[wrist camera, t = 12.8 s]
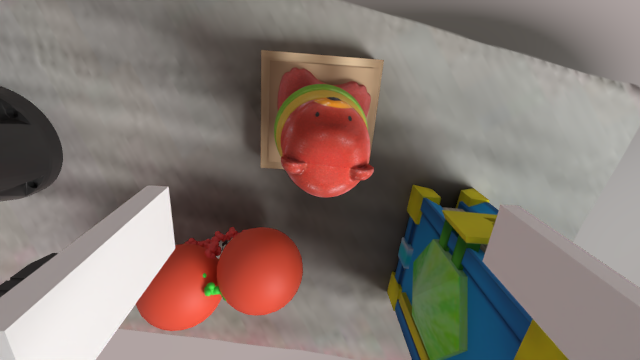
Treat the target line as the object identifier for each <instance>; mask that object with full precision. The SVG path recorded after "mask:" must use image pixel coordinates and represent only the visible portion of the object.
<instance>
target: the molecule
mask: <svg viewBox="0 0 640 360" xmlns="http://www.w3.org/2000/svg"><path fill="white" fill-rule="evenodd" d="M231 237H232V238H233V239H231ZM230 239H231V240H230ZM220 240H222V241H223V243H222V246H224V245H226V244H227V243H228V241H229V240H230V242H229V243H228V244H227V245H226V246H225V248H224V250H223V248H222V250H223V252H222V253H221V251H222V250H221V247H219V243H218V242H220ZM220 254H221V255H220ZM219 255H220V259H218V258H217V257H216V256H219ZM302 275H303V264H302V258H301V255H300V252H299V250H298V248H297V246H296V245H295V243H294V242H293V241H292V240H291V239H290V238H289V237H288V236H287V235H286V234H284V233H282V232H280V231H279V230H276V229H272V228H265V227H259V228H252V229H248V230H242V232H241V233H238V232H237V231H235V228H234V227H230V228H229V232H227V233H226V235H224V234H222V233H221V232H220V231H216V232H215V236H214V237H212V238H211V239H206V241H205V240H203V241H198V242H197V241H196V240H195V239H194V238H190V239H189V240H188V241H187V242H185V243H184V244H179V245H175V250H174V251H173V252H172V254H171V255H170V257H169V258H168V259H167V261H166V262H165V264H164V265H163V266H162V268H161V269H160V270H159V272H158V273H157V275H156V276H155V277H154V279H153V280H152V282H151V283H150V284H149V286H148V287H147V289H146V290H145V291H144V293H143V294H142V296H141V297H140V298H139V300H138V301H137V303H136V306H137V308H138V310H139V312H140V314H141V316H142V317H143V318H144V319H145V320H146V321H147V322H148V323H149V324H151V325H153V326H155V327H157V328H160V329H162V330H168V331H176V330H184V329H187V328H190V327H194V326H196V325H197V324H199V323H201V322H202V321H204V320H205V319H206V318H207V317H209V316H210V315H211V314H212V312H213V311H214V310H215V309H216V307H217V306H218V304H219V302H220V300H221V299H222V297H223V299H224V300H225V301H227V303H228V304H229V305H231V306H232V307H233V308H235V309H236V310H238V311H240V312H242V313H245V314H248V315H266V314H269V313H272V312H275V311H278V310H279V309H281V308H282V307H284V306H285V305H286V304H287V303H288V302H289V301H290V300H292V298H293V297H294V295H295V294H296V292H297V290H298V288H299V285H300V283H301V280H302Z"/></svg>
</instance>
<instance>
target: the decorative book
mask: <svg viewBox="0 0 640 360" xmlns="http://www.w3.org/2000/svg"><path fill="white" fill-rule="evenodd" d="M440 201H441V197H440V196H439V195H438V194H437V193H436V192H435V191H434V190H433V189H429V188H425V187H421V186H417V185H412V190H411V194H410V198H409V202H408V206H407V212H408V213H409V215H410V216H409V220H408V224H407V228H406V232H405V236H404V237H402V240H401V245H400V249H399V253H398V257H399V261H398V265H397V269H396V273H395V272H393V271H392V274H391V278H390V282H389V286H388V290H387V293H388V296H389V299H390V302H391V304H392V307H393V310H394V311H395V312H396V315H397V318H398V321H399V323H400V326H401V329H402V332H403V335H404V338H405V341H406V343H407V346H408V349H409V352H410V355H411V358H412V360H569V359H568V358H567V357H566V356H565V355H564V354H563V352H562V351H561V350H560V349H559V348H558V347H557V346H556V344H555V343H554V342H553V341H552V340H551V339H550V338H549V337H548V335H547V334H546V333H545V332H544V331H543V330H542V329H541V327H540V326H539V325H538V324H537V323H536V322H535V321H534V319H533V318H532V317H531V316H530V315H529V314H528V313H527V311H526V310H525V309H524V308H523V307H522V306H521V305H520V303H519V302H518V301H517V300H516V299H515V298H514V297H513V296H512V294H511V293H510V292H509V291H508V290H507V289H506V288H505V286H504V285H503V284H502V283H501V282H500V281H499V280H498V278H497V277H496V276H495V275H494V274H493V273H492V272H491V270H490V269H489V268H488V267H487V266H486V265H485V264H484V263H483V258H484V255H485V252H486V249H487V246H488V243H489V240H490V236H491V233H492V230H493V227H494V224H495V221H496V218H497V215H498V211H499V210H497V209H496V208H495V207H494V206H492V205H491V204H490V203H489V200H488V199H487V198H486V197H484V196H483V195H482V194H480V193H479V192H478V191H476V190H475V189H474V188H472V189H466V190H461V192H460V196H459V199H458V202H457V206H456V208H445V207H441V206H440Z"/></svg>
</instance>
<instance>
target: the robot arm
mask: <svg viewBox="0 0 640 360" xmlns="http://www.w3.org/2000/svg"><path fill="white" fill-rule="evenodd" d="M62 162H63V153H62V147H61V143H60V140H59V137H58V135H57V133H56V131H55V129H54V127H53V126H52V124H51V123H50V121H49V120H48V119H47V117H46V116H45V115H44V114H43V113H42V112H41V111H40V110H39V109H38V108H37V107H36V106H35V105H33V104H32V103H31V102H30V101H28V100H27V99H25V98H24V97H22V96H20V95H19V94H17V93H15V92H13V91H11V90H8V89H6V88H3V87H0V201H7V200H15V199H20V198H24V197H27V196H30V195H32V194H34V193H37V192H39V191H41V190H43V189H45V188H47V187H48V186H50V185H51V184H52V183H53V182H54V181H55V180H56V178H57V177H58V175H59V173H60V171H61V167H62ZM174 250H175V241H174V232H173V223H172V214H171V205H170V196H169V187H167V186H149V185H147V186H146V187H145V188H144V189H142V190H141V191H140V192H138V193H137V194H136V195H134V196H133V197H132V198H130V199H129V200H128V201H126V202H125V203H124V204H123V205H121V206H120V207H119V208H117V209H116V210H115V211H113V212H112V213H111V214H109V215H108V216H107V217H105V218H104V219H103V220H102V221H100V222H99V223H98V224H96V225H95V226H94V227H92V228H91V229H90V230H88V231H87V232H86V233H84V234H83V235H82V236H80V237H79V238H78V239H77V240H75V241H74V242H73V243H71V244H70V245H69V246H67V247H66V248H65V249H63V250H62V251H61V252H59V253H52V254H50V255H48V256H46V257H43V258H41V259H39V260H37V261H35V262H33V263H31V264H29V265H27V266H26V267H25V268H23V269H22V270H21V271H19V272H18V273H16V274H15V275H14V276H12V277H11V278H10V280H9V281H5V282H4V283H3V284H1V285H0V360H96V358H97V357H98V355H99V354H100V353H101V351H102V350H103V348H104V347H105V345H106V344H107V343H108V341H109V340H110V339H111V337H112V336H113V335H114V333H115V332H116V330H117V329H118V328H119V326H120V325H121V323H122V322H123V321H124V319H125V318H126V316H127V315H128V314H129V312H130V311H131V309H132V308H133V307H134V305H135V304H136V303H137V301H138V300H139V298H140V297H141V296H142V294H143V293H144V291H145V290H146V289H147V287H148V286H149V284H150V283H151V282H152V280H153V279H154V277H155V276H156V275H157V273H158V272H159V270H160V269H161V268H162V266H163V265H164V264H165V262H166V261H167V259H168V258H169V257H170V255H171V254H172V252H173V251H174ZM483 263H484V264H485V265H486V266H487V267H488V268H489V269H490V270H491V272H492V273H493V274H494V275H495V276H496V277H497V278H498V280H499V281H500V282H501V283H502V284H503V285H504V286H505V288H506V289H507V290H508V291H509V292H510V293H511V294H512V296H513V297H514V298H515V299H516V300H517V301H518V302H519V303H520V305H521V306H522V307H523V308H524V309H525V310H526V311H527V313H528V314H529V315H530V316H531V317H532V318H533V319H534V321H535V322H536V323H537V324H538V325H539V326H540V327H541V329H542V330H543V331H544V332H545V333H546V334H547V335H548V337H549V338H550V339H551V340H552V341H553V342H554V343H555V344H556V346H557V347H558V348H559V349H560V350H561V351H562V352H563V354H564V355H565V356H566V357H567V358H568V359H569V360H640V287H638V286H636V285H635V284H633V283H632V282H631V281H629V280H628V279H626V278H625V277H623V276H622V275H620V274H619V273H617V272H616V271H614V270H613V269H612V268H610V267H609V266H607V265H606V264H604V263H603V262H601V261H600V260H598V259H597V258H595V257H594V256H592V255H591V254H589V253H588V252H586V251H585V250H583V249H582V248H580V247H579V246H578V245H576V244H574V243H573V242H572V241H570V240H569V239H567V238H566V237H564V236H563V235H561V234H560V233H558V232H557V231H555V230H554V229H552V228H551V227H550V226H548V225H547V224H545V223H544V222H542V221H541V220H539V219H538V218H536V217H535V216H533V215H532V214H530V213H529V212H527V211H526V210H524V209H523V208H521V207H520V206H516V205H500V208H499V211H498V215H497V218H496V221H495V224H494V227H493V230H492V233H491V236H490V240H489V243H488V246H487V249H486V252H485V255H484V258H483Z"/></svg>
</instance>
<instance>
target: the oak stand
mask: <svg viewBox="0 0 640 360" xmlns="http://www.w3.org/2000/svg"><path fill="white" fill-rule="evenodd" d="M383 62H384V60H376V59H364V58H351V57H339V56H327V55H315V54H303V53H291V52H279V51H267V50H261V168H273V169H284V168H283V167H282V165H281V156H280V154H279V152H278V150H277V147H276V143H275V138H274V125H275V119H276V116H277V113H278V105H277V102H278V91H279V86H280V82H281V79H282V76H283V75H284V73H286V72H290V71H291V69H292V68H294V67H297V68H299V69H302V68H305V69H307V70H308V71H310V72H311V73H312V74H313V75H314V76H315V77H316V78H317V79H318V80H319V81H321V82H323V83H326V84H329V85H341V84H344V83H347V82H351V81H355V82H357V83H358V84H359V85H360V84H362V85H364V86H365V87H366V89H367V92H368V93H369V94H370V96H371V103H370V108H369V111H368V114H367V117H366V121H367V126H368V133H369V138H370V155H371V148H372V141H373V133H374V126H375V119H376V112H377V105H378V98H379V91H380V84H381V76H382V69H383ZM369 162H370V157H369ZM368 164H369V163H368Z"/></svg>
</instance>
